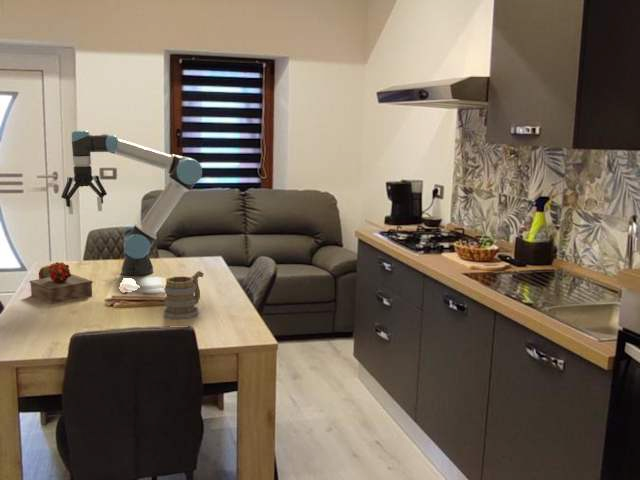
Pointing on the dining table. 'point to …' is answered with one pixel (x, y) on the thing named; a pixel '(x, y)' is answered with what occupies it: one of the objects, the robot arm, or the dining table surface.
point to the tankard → (182, 296)
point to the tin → (44, 272)
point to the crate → (61, 289)
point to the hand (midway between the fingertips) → (85, 212)
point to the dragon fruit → (59, 272)
